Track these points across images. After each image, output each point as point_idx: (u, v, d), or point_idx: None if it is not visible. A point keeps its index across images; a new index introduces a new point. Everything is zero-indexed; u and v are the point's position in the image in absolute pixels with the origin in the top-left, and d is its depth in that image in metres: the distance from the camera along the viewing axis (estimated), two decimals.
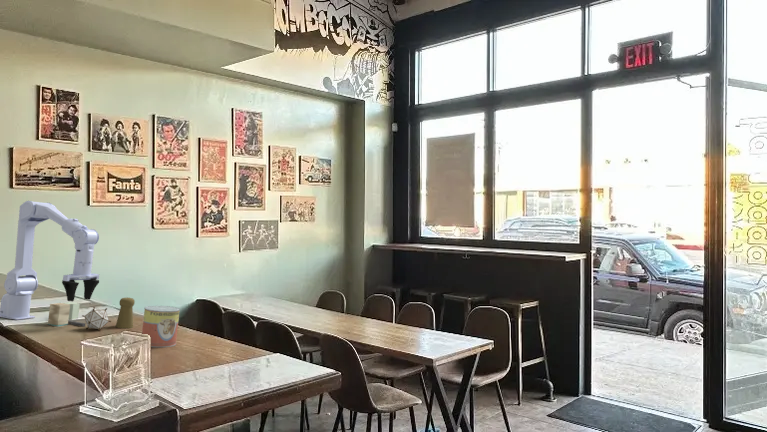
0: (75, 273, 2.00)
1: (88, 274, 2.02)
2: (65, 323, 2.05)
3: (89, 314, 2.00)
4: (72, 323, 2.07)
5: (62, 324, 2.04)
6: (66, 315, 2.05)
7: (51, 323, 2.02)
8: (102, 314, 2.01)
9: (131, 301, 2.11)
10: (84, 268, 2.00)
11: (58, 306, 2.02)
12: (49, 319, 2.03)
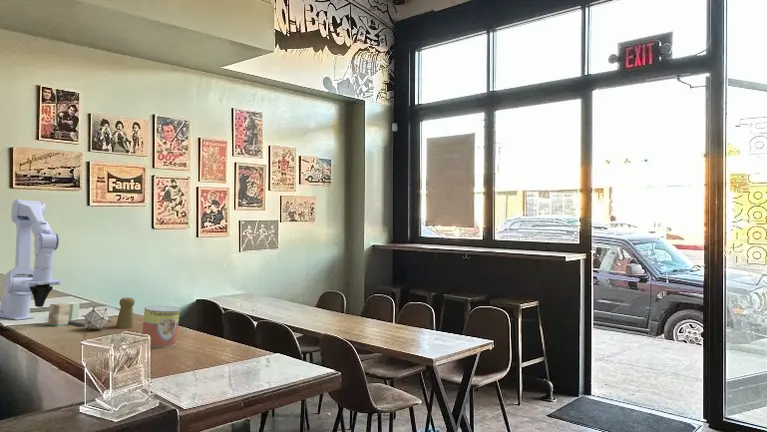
0: (34, 279, 1.94)
1: (48, 280, 1.96)
2: (65, 323, 2.05)
3: (89, 314, 2.00)
4: (72, 323, 2.07)
5: (62, 324, 2.04)
6: (65, 314, 2.05)
7: (51, 323, 2.02)
8: (102, 314, 2.01)
9: (131, 301, 2.11)
10: (43, 274, 1.94)
11: (58, 306, 2.02)
12: (49, 319, 2.03)
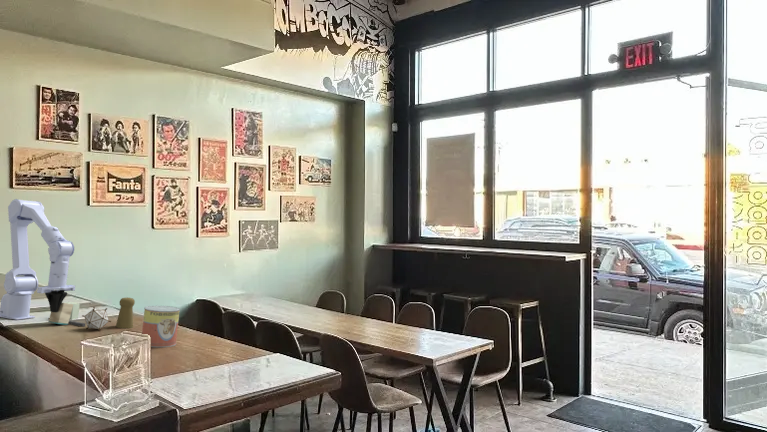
0: (50, 285, 2.00)
1: (63, 286, 2.02)
2: (65, 322, 2.05)
3: (89, 314, 2.00)
4: (72, 323, 2.07)
5: (62, 323, 2.04)
6: (67, 314, 2.06)
7: (52, 320, 2.03)
8: (102, 314, 2.01)
9: (131, 301, 2.11)
10: (58, 280, 2.01)
11: (62, 303, 2.04)
12: (50, 316, 2.03)
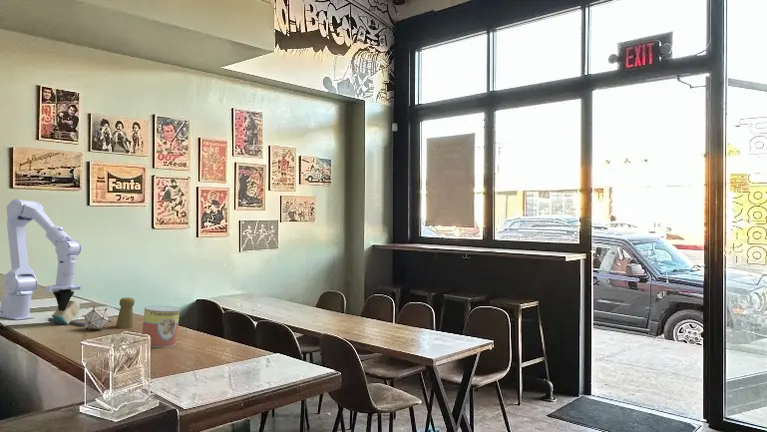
0: (57, 284, 2.03)
1: (70, 285, 2.05)
2: (67, 321, 2.06)
3: (89, 314, 2.00)
4: (72, 323, 2.07)
5: (65, 319, 2.05)
6: (72, 314, 2.08)
7: (56, 314, 2.04)
8: (102, 314, 2.01)
9: (131, 301, 2.11)
10: (66, 279, 2.04)
11: (72, 301, 2.08)
12: (56, 311, 2.05)
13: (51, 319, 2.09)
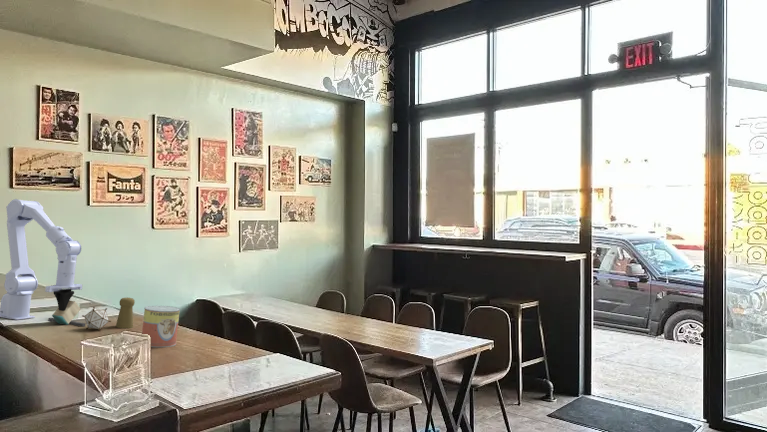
0: (58, 284, 2.03)
1: (71, 285, 2.05)
2: (67, 321, 2.06)
3: (89, 314, 2.00)
4: (72, 323, 2.07)
5: (65, 319, 2.05)
6: (72, 314, 2.08)
7: (56, 314, 2.04)
8: (102, 314, 2.01)
9: (131, 301, 2.11)
10: (66, 279, 2.04)
11: (72, 301, 2.08)
12: (56, 311, 2.05)
13: (51, 319, 2.09)
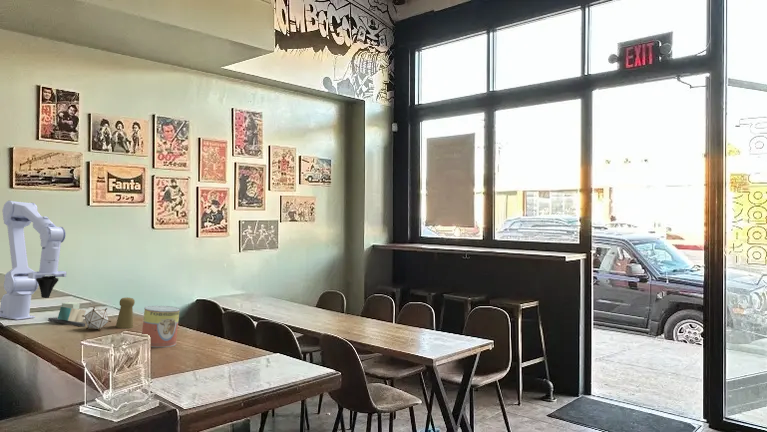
0: (41, 270, 1.99)
1: (54, 272, 2.01)
2: (69, 317, 2.06)
3: (89, 314, 2.00)
4: (72, 323, 2.07)
5: (69, 314, 2.07)
6: (75, 317, 2.09)
7: (65, 307, 2.08)
8: (102, 314, 2.01)
9: (131, 301, 2.11)
10: (50, 266, 2.00)
11: (83, 310, 2.13)
12: None
13: (51, 319, 2.09)
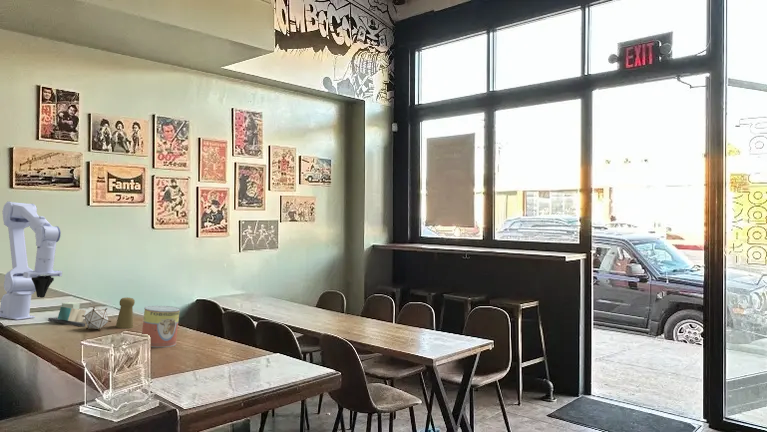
0: (36, 270, 1.99)
1: (50, 271, 2.01)
2: (69, 317, 2.06)
3: (89, 314, 2.00)
4: (72, 323, 2.07)
5: (69, 314, 2.07)
6: (75, 317, 2.09)
7: (65, 307, 2.08)
8: (102, 314, 2.01)
9: (131, 301, 2.11)
10: (45, 265, 1.99)
11: (83, 310, 2.13)
12: None
13: (51, 319, 2.09)
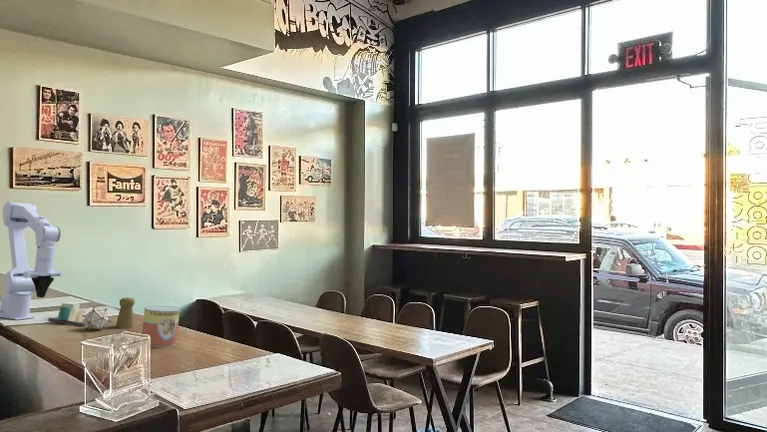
0: (36, 270, 1.99)
1: (50, 271, 2.01)
2: (69, 317, 2.06)
3: (89, 314, 2.00)
4: (72, 323, 2.07)
5: (69, 314, 2.07)
6: (75, 317, 2.09)
7: (65, 307, 2.08)
8: (102, 314, 2.01)
9: (131, 301, 2.11)
10: (45, 265, 1.99)
11: (83, 310, 2.13)
12: None
13: (51, 319, 2.09)
